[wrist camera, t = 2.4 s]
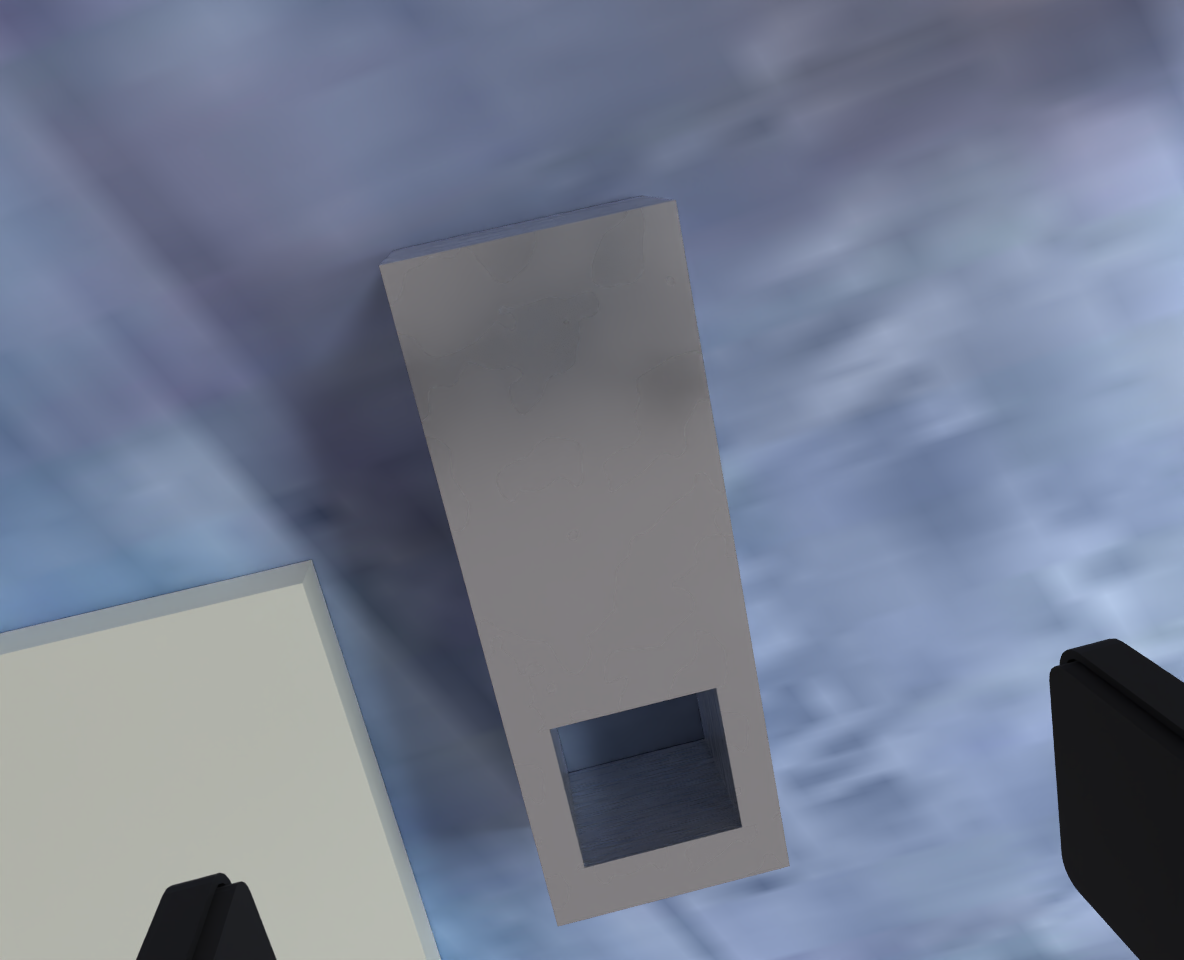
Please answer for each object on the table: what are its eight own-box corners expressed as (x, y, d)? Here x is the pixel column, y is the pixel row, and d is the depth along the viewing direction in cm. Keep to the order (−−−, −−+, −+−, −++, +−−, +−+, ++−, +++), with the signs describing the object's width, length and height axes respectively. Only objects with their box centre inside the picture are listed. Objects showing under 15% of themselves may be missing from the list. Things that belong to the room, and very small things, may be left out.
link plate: (393, 250, 23) (378, 265, 19) (641, 195, 23) (675, 199, 19) (545, 825, 28) (557, 926, 24) (746, 774, 28) (789, 865, 25)
